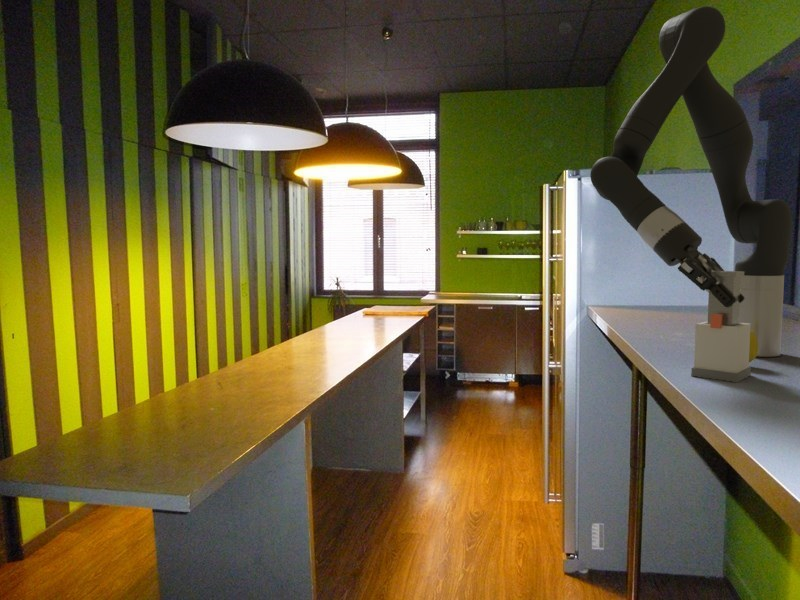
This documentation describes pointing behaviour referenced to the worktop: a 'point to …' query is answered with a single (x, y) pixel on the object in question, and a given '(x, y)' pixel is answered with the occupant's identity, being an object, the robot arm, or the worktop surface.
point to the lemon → (753, 346)
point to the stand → (722, 350)
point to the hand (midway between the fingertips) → (736, 303)
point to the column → (732, 284)
